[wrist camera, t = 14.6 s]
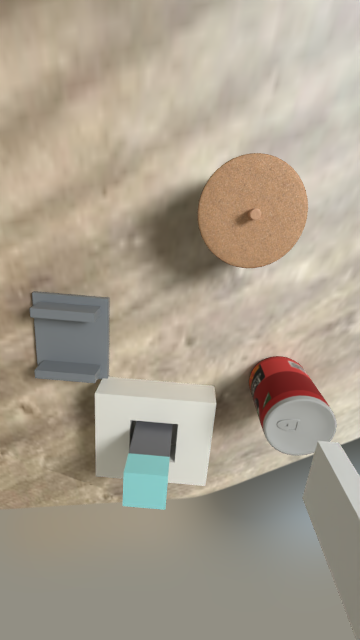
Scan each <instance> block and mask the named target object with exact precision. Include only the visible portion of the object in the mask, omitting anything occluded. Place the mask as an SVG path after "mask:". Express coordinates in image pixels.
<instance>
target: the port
mask: <svg viewBox="0 0 360 640" xmlns="http://www.w3.org/2000/svg"><path fill="white" fill-rule="evenodd" d="M215 410H216V396H215V388H214V386H213V385H201V384H189V383H178V382H166V381H154V380H143V379H131V378H119V377H109V378H108V379H105V378H102V380H101V382H100V384H99V386H98V388H97V390H96V392H95V449H96V476H98V477H110V478H121V479H123V477H124V469H125V465H126V461H127V457H128V453H129V449H130V445H131V441H132V437H133V433H134V429H135V425H136V422H137V421H146V422H158V423H170V424H173V425H172V437H171V449H170V461H169V472H168V483H179V484H190V485H202V486H205V485H206V477H207V470H208V462H209V455H210V448H211V440H212V433H213V425H214V418H215Z"/></svg>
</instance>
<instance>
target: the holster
mask: <svg viewBox="0 0 360 640" xmlns="http://www.w3.org/2000/svg"><path fill="white" fill-rule="evenodd" d="M32 297H33V306H32V307H31V308H30V317H34V324H35V337H36V351H37V364H38V367H37V368H36V369H35V378H40V379H52V380H63V381H75V382H87V383H95V382H96V381H97V379H102V378H105V379H108V378H109V298H107V297H95V296H83V295H71V294H59V293H47V292H36V291H34V292H32Z"/></svg>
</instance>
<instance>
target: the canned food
mask: <svg viewBox="0 0 360 640" xmlns="http://www.w3.org/2000/svg"><path fill="white" fill-rule="evenodd" d="M249 386H250V391H251V394H252V397H253V400H254V403H255V407H256V410H257V413H258V416H259V420H260V423H261V426H262V429H263V432H264V434H265V437H266V438H267V441H268V442H269V443H270V445H271V446H272V447H274V448H275V449H276V450H278V451H280V452H282V453H285V454H289V455H307V454H311V453H314V452H315V449H316V446H317V442H318V441H327V442H330V441H331V440H332V438H333V437H334V434H335V432H336V427H337V425H336V419H335V416H334V414H333V411H332V410H331V408H330V407H329V405H328V404H327V402H326V401H325V399H324V398H323V396H322V395H321V393H320V392H319V391H318V389H317V388H316V386H315V385H314V383H313V382H312V380H311V379H310V378H309V376H308V375H307V373H306V372H305V370H304V369H303V367H302V366H301V365H300V364H299V363H297V362H295V361H294V360H292V359H289V358H287V357H280V356H276V357H270V358H267V359H265V360H263V361H261V362H260V363H258V364H257V365H256V366H255V367H254V369H253V371H252V372H251V376H250V379H249Z"/></svg>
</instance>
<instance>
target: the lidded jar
mask: <svg viewBox="0 0 360 640" xmlns="http://www.w3.org/2000/svg"><path fill="white" fill-rule="evenodd" d="M307 212H308V200H307V195H306V190H305V187H304V185H303V182H302V180H301V179H300V177H299V175H298V174H297V173H296V172H295V170H294V169H293V168H292V167H291V166H290V165H288V164H287V163H286V162H285V161H283V160H281V159H279V158H277V157H274V156H271V155H268V154H261V153H252V154H246V155H241V156H239V157H236V158H233V159H231V160H230V161H228V162H226V163H225V164H223V165H222V166H221V167H220V168H218V169H217V170H216V171H215V172H214V174H213V175H212V176H211V177H210V178H209V180H208V181H207V183H206V185H205V187H204V189H203V191H202V193H201V196H200V200H199V205H198V225H199V229H200V233H201V236H202V238H203V240H204V242H205V244H206V245H207V247H208V248H209V249H210V251H211V252H212V253H213V254H214V255H215V256H216V257H218V258H219V259H221V260H222V261H224V262H226V263H228V264H230V265H233V266H236V267H241V268H257V267H262V266H265V265H268V264H271V263H273V262H275V261H277V260H278V259H280V258H281V257H283V256H284V255H285V254H286V253H287V252H288V251H290V250H291V249H292V247H293V246H294V245H295V244H296V242H297V241H298V239H299V237H300V236H301V234H302V231H303V229H304V227H305V223H306V219H307Z"/></svg>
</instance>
